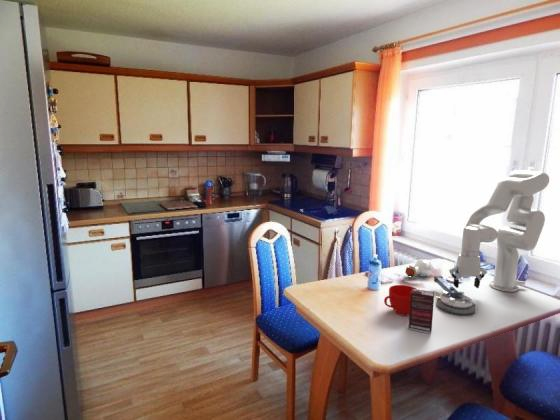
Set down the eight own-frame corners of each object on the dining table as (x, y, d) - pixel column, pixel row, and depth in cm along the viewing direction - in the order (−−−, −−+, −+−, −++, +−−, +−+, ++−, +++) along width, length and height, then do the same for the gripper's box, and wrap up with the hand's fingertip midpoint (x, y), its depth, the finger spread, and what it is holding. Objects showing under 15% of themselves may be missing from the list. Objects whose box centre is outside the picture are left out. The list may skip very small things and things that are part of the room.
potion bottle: (431, 277, 208) (411, 284, 202) (421, 263, 213) (400, 270, 208) (439, 267, 201) (418, 275, 195) (428, 253, 207) (407, 260, 201)
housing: (465, 299, 175) (465, 295, 175) (482, 315, 159) (483, 311, 159) (431, 299, 175) (431, 295, 175) (445, 315, 160) (445, 310, 159)
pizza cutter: (450, 284, 188) (451, 275, 187) (477, 309, 161) (479, 298, 160) (424, 284, 188) (425, 274, 187) (447, 309, 161) (448, 298, 160)
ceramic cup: (374, 310, 165) (375, 288, 163) (404, 303, 171) (405, 283, 169) (393, 323, 153) (395, 300, 151) (425, 315, 160) (427, 293, 158)
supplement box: (431, 328, 149) (435, 291, 146) (431, 334, 144) (434, 296, 141) (409, 324, 152) (411, 287, 149) (407, 329, 148) (410, 292, 145)
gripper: (484, 250, 178) (480, 284, 182) (448, 250, 179) (444, 283, 182) (492, 255, 171) (488, 290, 174) (454, 255, 171) (451, 289, 175)
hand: (466, 287), depth 178 cm, fingers open, 9 cm apart
